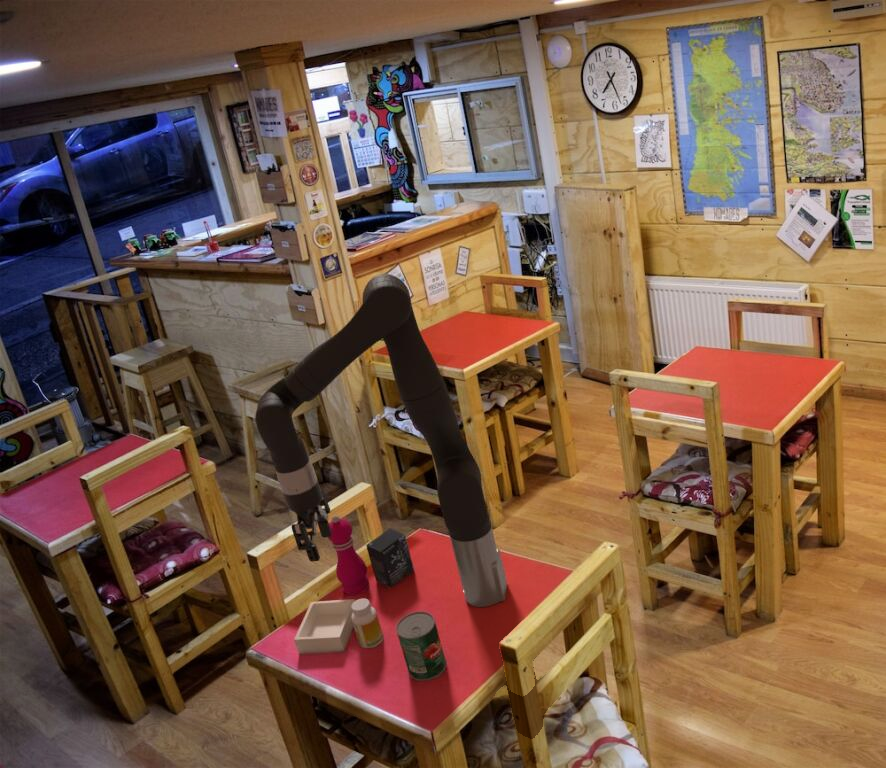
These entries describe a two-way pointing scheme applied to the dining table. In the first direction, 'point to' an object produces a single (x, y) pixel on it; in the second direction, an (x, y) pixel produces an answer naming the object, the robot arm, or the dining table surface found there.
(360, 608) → the supplement bottle
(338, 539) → the pepper mill
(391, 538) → the box
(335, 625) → the tub
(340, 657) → the dining table surface
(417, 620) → the canned tomato
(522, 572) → the dining table surface
